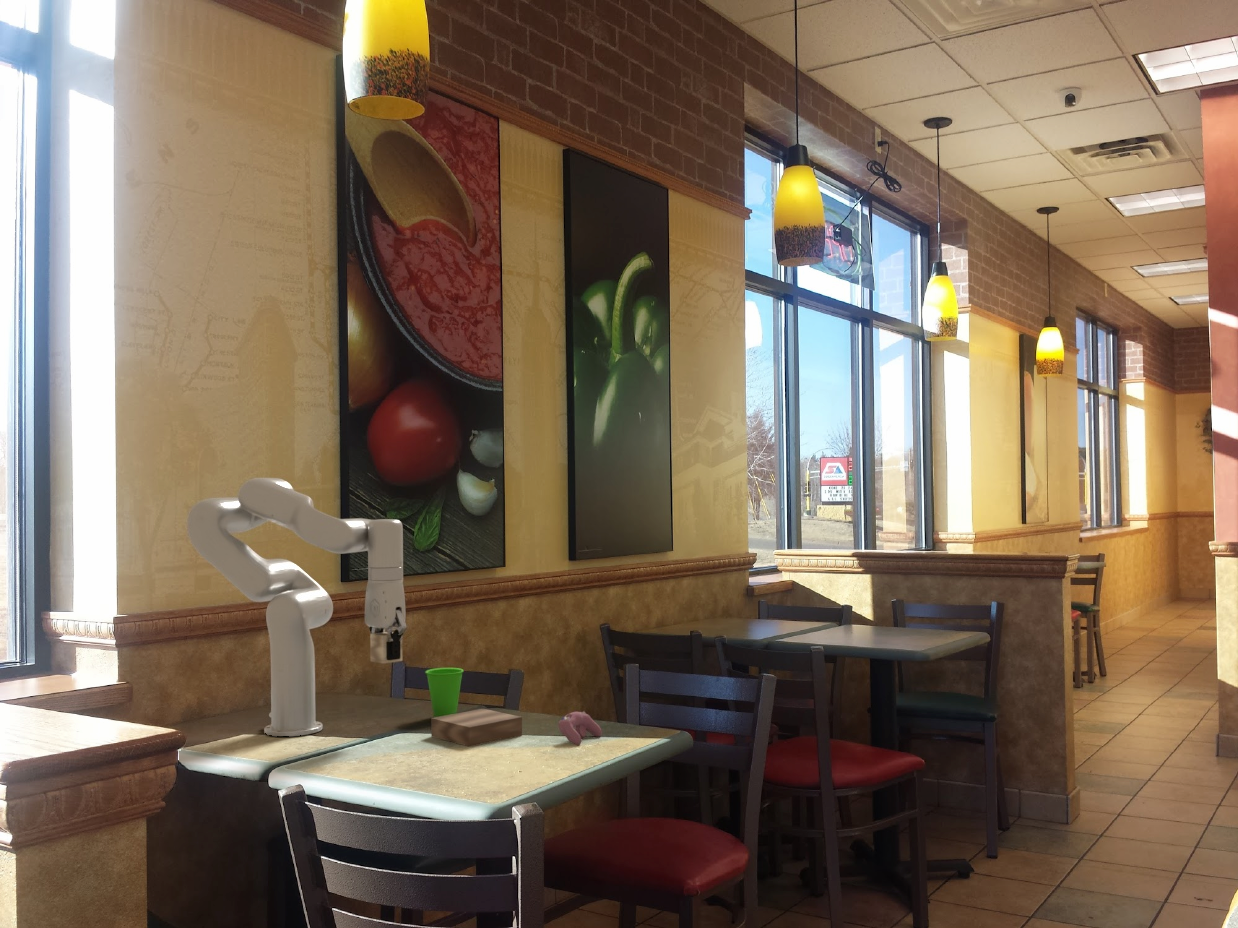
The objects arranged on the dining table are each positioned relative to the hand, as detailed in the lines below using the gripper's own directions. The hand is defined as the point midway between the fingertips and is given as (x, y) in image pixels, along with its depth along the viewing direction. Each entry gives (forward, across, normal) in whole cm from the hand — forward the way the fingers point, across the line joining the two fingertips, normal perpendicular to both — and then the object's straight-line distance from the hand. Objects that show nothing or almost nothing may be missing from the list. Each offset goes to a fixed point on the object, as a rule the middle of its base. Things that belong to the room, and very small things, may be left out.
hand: (386, 657), depth 243 cm
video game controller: (+17, +34, +26) cm, 47 cm away
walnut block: (+17, +15, +13) cm, 26 cm away
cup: (+17, -7, +20) cm, 27 cm away
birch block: (+1, 0, 0) cm, 1 cm away
